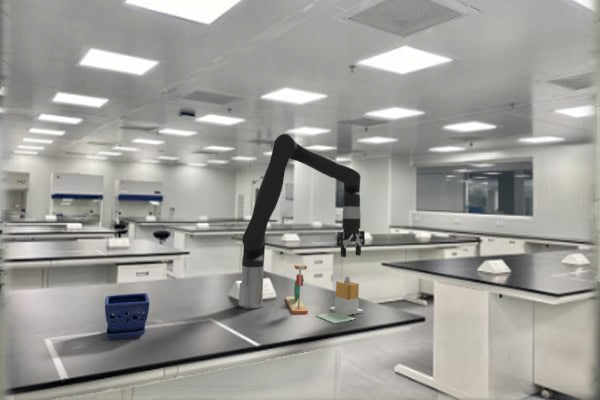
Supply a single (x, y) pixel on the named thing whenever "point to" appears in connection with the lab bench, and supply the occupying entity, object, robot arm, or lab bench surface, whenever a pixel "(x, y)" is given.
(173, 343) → the lab bench surface
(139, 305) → the flower pot
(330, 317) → the mat
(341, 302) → the stand
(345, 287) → the cardboard box
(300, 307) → the crank mechanism
